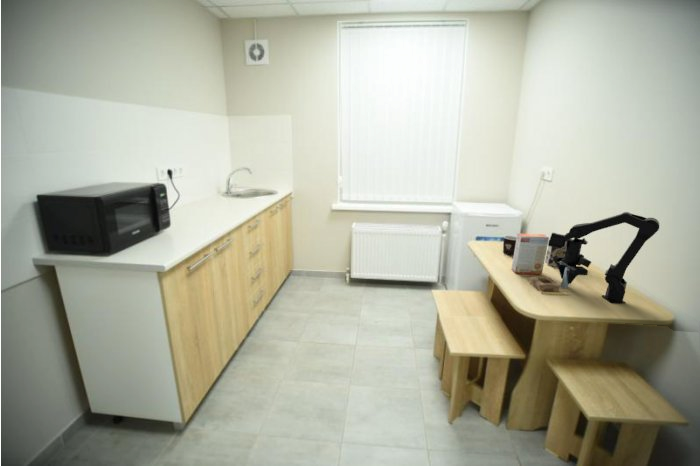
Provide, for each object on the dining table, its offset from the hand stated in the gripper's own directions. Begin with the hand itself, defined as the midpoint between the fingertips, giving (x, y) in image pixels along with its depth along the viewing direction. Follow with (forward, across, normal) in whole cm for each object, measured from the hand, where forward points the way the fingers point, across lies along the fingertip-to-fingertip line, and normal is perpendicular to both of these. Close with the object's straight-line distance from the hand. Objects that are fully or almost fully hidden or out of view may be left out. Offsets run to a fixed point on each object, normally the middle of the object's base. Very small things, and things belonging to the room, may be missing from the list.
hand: (565, 281), depth 163 cm
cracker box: (+3, +17, +11) cm, 20 cm away
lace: (+3, -7, +9) cm, 12 cm away
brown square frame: (+3, -2, +11) cm, 12 cm away
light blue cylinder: (+3, 0, 0) cm, 3 cm away
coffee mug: (+3, +45, +8) cm, 46 cm away
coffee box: (+3, +30, -11) cm, 32 cm away
